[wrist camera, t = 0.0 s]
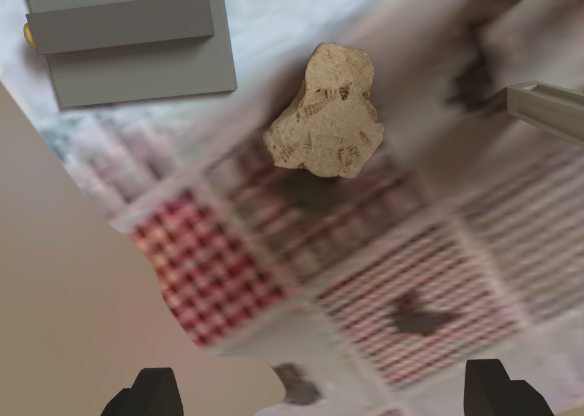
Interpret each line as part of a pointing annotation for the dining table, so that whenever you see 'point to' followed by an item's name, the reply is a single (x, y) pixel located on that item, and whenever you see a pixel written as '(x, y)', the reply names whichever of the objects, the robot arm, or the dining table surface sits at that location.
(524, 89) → the stool
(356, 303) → the dining table surface
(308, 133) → the stone
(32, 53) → the dining table surface
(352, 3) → the dining table surface
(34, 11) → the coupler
